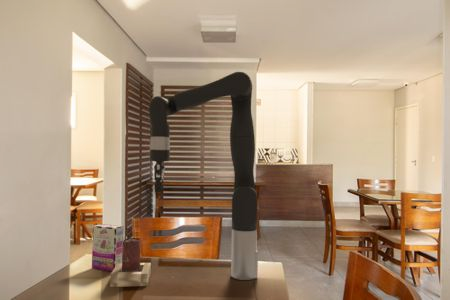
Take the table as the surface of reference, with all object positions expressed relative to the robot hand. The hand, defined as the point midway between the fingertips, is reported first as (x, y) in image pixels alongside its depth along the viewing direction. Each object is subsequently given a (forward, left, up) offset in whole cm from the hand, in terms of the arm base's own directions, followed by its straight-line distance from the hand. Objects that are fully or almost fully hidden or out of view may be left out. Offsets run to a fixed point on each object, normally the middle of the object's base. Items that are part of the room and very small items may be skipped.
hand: (158, 191), depth 130 cm
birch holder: (+8, +10, -30) cm, 33 cm away
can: (+8, +10, -30) cm, 33 cm away
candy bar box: (+19, -3, -30) cm, 36 cm away
